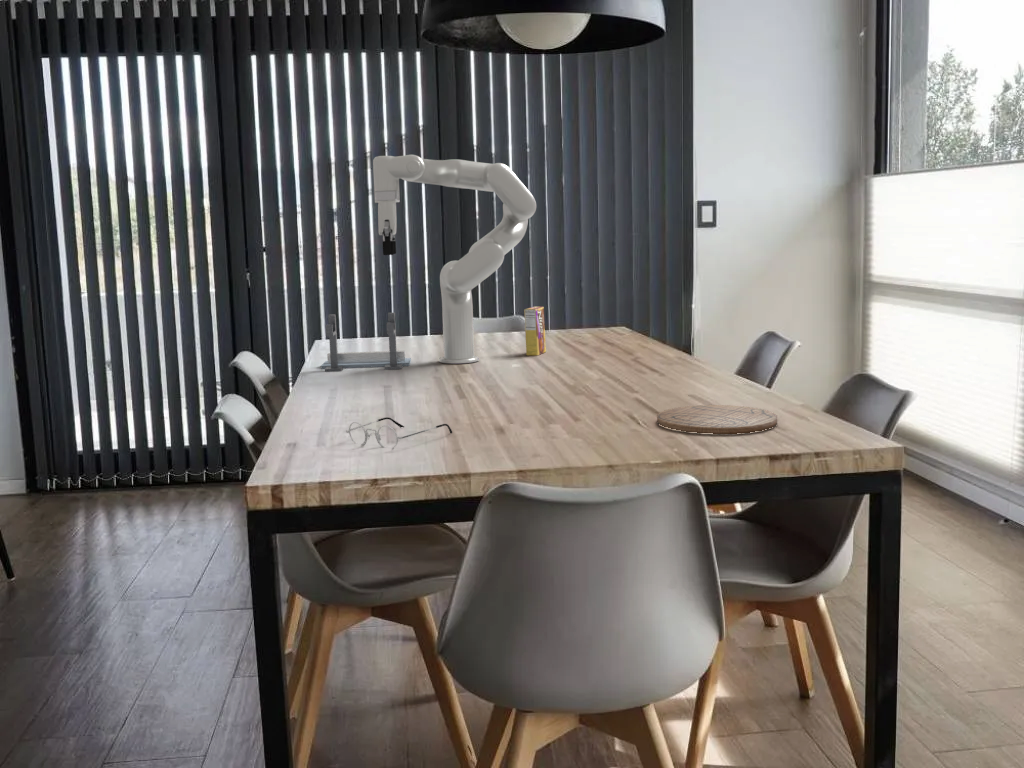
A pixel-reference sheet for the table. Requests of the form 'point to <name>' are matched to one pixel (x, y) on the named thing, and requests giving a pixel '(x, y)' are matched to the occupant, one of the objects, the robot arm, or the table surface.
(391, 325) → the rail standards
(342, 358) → the steel rail
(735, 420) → the trivet
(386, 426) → the eyeglasses
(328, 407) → the table surface
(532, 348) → the candy box
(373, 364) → the rubber mat
